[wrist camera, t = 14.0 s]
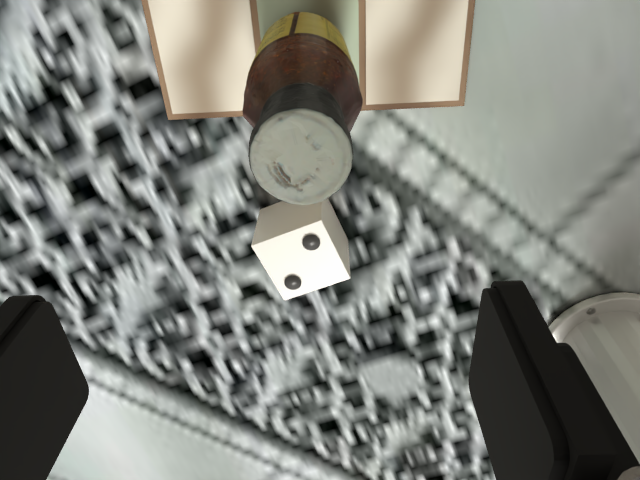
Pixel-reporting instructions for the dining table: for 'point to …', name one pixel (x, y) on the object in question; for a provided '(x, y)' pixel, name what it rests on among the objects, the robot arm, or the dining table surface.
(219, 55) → the board
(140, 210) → the dining table surface
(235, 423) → the dining table surface
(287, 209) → the die
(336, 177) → the sauce bottle
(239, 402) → the dining table surface
